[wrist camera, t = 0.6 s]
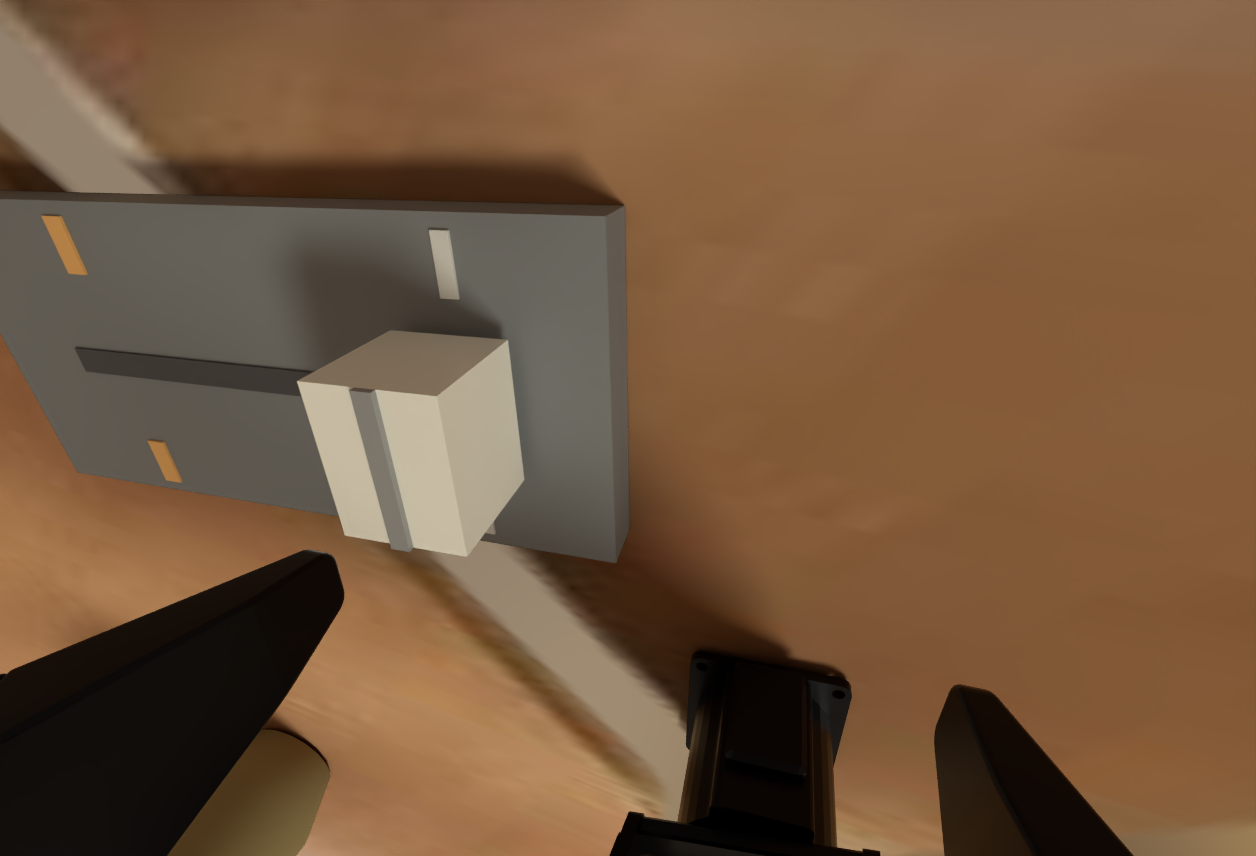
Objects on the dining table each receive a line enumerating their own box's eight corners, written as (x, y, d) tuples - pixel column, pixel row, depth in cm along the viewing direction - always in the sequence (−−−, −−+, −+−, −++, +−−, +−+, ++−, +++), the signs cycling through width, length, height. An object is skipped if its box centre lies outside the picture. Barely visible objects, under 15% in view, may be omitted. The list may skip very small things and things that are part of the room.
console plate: (629, 529, 23) (615, 565, 21) (120, 451, 29) (75, 473, 27) (624, 205, 17) (604, 216, 15) (-12, 190, 23) (-80, 197, 21)
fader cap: (524, 479, 20) (463, 561, 16) (419, 464, 21) (340, 539, 17) (507, 339, 17) (432, 400, 14) (390, 330, 18) (291, 384, 15)
